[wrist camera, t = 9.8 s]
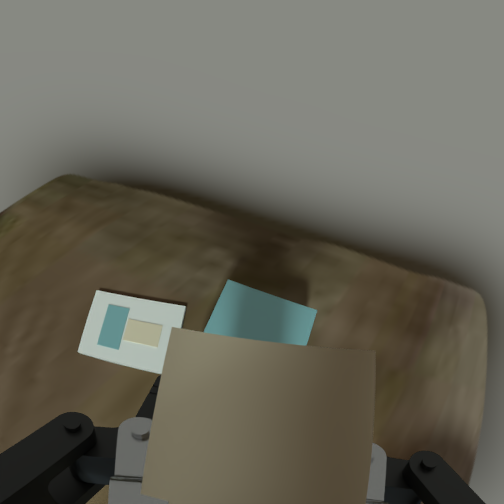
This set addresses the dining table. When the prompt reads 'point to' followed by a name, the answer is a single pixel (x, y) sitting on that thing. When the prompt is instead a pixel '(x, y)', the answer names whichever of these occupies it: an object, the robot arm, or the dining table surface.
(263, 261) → the dining table surface
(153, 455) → the maple block
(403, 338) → the dining table surface
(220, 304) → the teal base block
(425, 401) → the dining table surface
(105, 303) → the card
